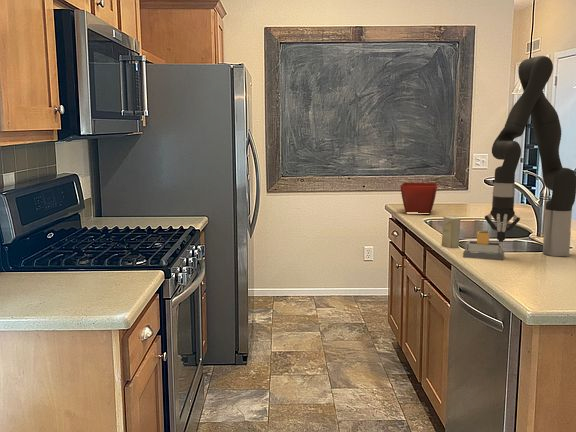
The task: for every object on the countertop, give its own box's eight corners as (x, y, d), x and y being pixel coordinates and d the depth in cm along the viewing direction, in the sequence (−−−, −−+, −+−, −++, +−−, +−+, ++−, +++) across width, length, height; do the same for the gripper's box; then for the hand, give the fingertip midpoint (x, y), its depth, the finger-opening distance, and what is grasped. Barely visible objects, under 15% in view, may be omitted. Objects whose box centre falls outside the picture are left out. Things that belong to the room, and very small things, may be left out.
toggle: (488, 250, 229) (489, 230, 227) (487, 251, 225) (488, 232, 224) (477, 249, 230) (478, 230, 229) (476, 251, 226) (477, 231, 225)
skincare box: (441, 245, 249) (442, 216, 247) (450, 244, 250) (451, 215, 249) (450, 248, 243) (451, 218, 241) (459, 247, 245) (461, 217, 243)
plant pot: (399, 215, 336) (400, 185, 334) (403, 210, 354) (404, 182, 352) (434, 216, 331) (435, 186, 328) (436, 212, 349) (437, 183, 346)
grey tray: (504, 255, 229) (504, 242, 228) (502, 260, 221) (503, 246, 220) (466, 252, 234) (466, 240, 234) (463, 257, 226) (463, 244, 225)
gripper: (523, 195, 223) (520, 241, 225) (485, 193, 228) (483, 238, 230) (522, 197, 216) (519, 244, 218) (483, 195, 221) (481, 241, 224)
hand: (500, 241), depth 224 cm, fingers closed
